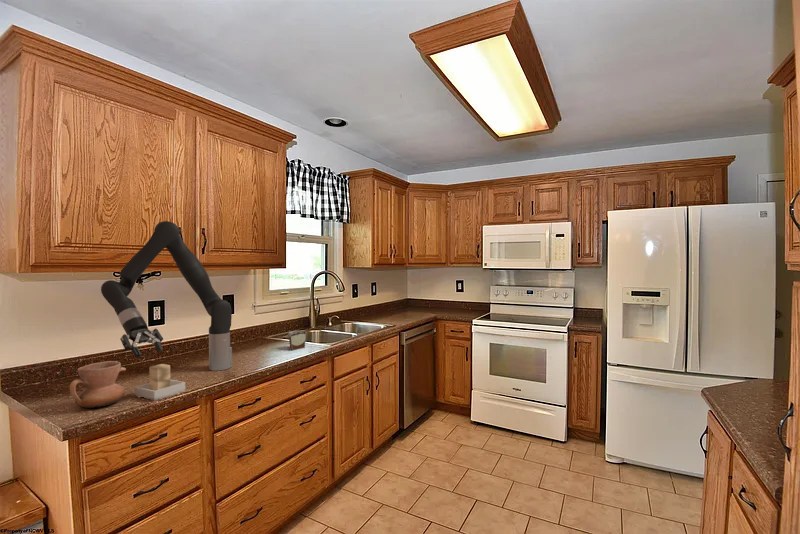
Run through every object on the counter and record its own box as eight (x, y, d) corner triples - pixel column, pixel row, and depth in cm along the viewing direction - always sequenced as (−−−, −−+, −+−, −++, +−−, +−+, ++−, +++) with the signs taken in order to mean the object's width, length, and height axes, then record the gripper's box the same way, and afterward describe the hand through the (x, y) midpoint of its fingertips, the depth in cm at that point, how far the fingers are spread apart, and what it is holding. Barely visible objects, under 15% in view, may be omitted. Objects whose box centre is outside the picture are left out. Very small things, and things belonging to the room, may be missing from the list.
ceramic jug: (114, 393, 152) (112, 357, 151) (138, 398, 146) (136, 360, 145) (58, 411, 135) (56, 370, 135) (82, 417, 129) (80, 374, 129)
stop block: (162, 388, 155) (162, 363, 155) (170, 390, 153) (170, 365, 153) (149, 392, 151) (149, 366, 150) (157, 394, 148) (157, 368, 148)
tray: (165, 386, 160) (165, 378, 160) (185, 391, 155) (185, 382, 155) (134, 396, 149) (134, 387, 149) (154, 400, 144) (154, 391, 144)
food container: (300, 346, 237) (299, 329, 237) (306, 347, 233) (306, 330, 233) (283, 349, 227) (283, 332, 227) (290, 351, 223) (289, 333, 223)
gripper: (118, 318, 152) (136, 352, 148) (154, 313, 165) (171, 344, 161) (109, 330, 154) (127, 364, 150) (145, 324, 167) (162, 354, 163)
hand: (150, 353), depth 156 cm, fingers open, 8 cm apart
